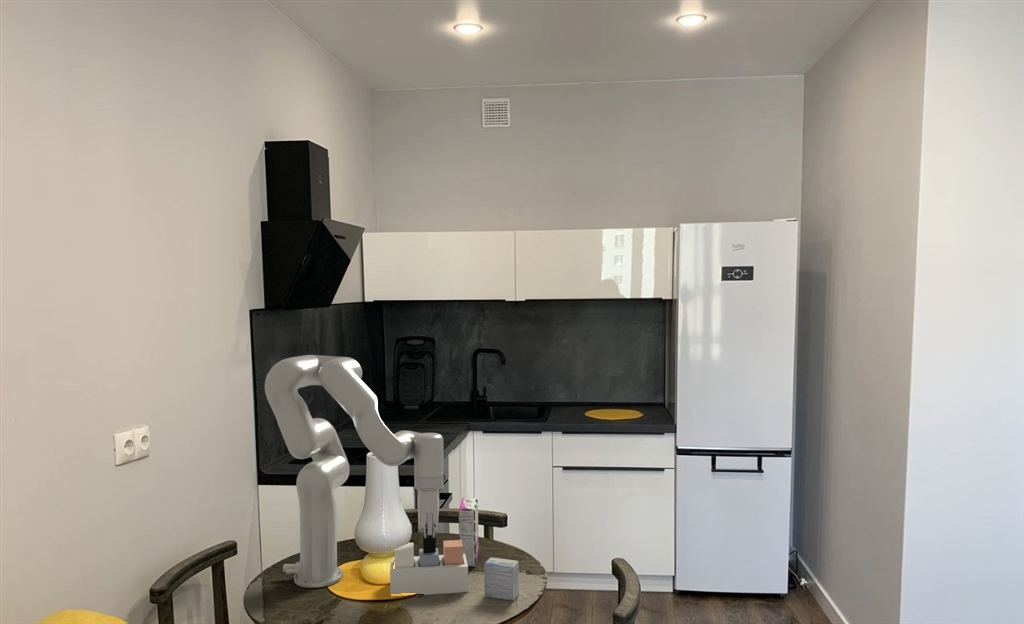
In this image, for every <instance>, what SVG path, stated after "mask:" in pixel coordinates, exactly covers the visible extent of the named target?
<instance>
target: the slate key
mask: <svg viewBox="0 0 1024 624" xmlns="http://www.w3.org/2000/svg"><path fill="white" fill-rule="evenodd" d="M418 550H419V553H418V554H419V555H418V556H419V567H428V566H439V555H440V554H439V548H438V547H436V552H435V553H423V548H419V549H418Z"/></svg>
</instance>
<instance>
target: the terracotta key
mask: <svg viewBox="0 0 1024 624" xmlns="http://www.w3.org/2000/svg"><path fill="white" fill-rule="evenodd" d="M442 542H443V548H442V549H443V550H442V551H443V554H442V555H443V565H460V564H463V544H462V540H459V539H455V540H452V539H451V540H443V541H442Z"/></svg>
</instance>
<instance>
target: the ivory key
mask: <svg viewBox="0 0 1024 624" xmlns="http://www.w3.org/2000/svg"><path fill="white" fill-rule="evenodd" d="M407 543H408V544H406V545H404V546H401V547H399V548H397V549H395V548H394V558H395V568H412V567H414V557H415V551H414V549H415V547H414V545H415V544H414V542H407Z"/></svg>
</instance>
